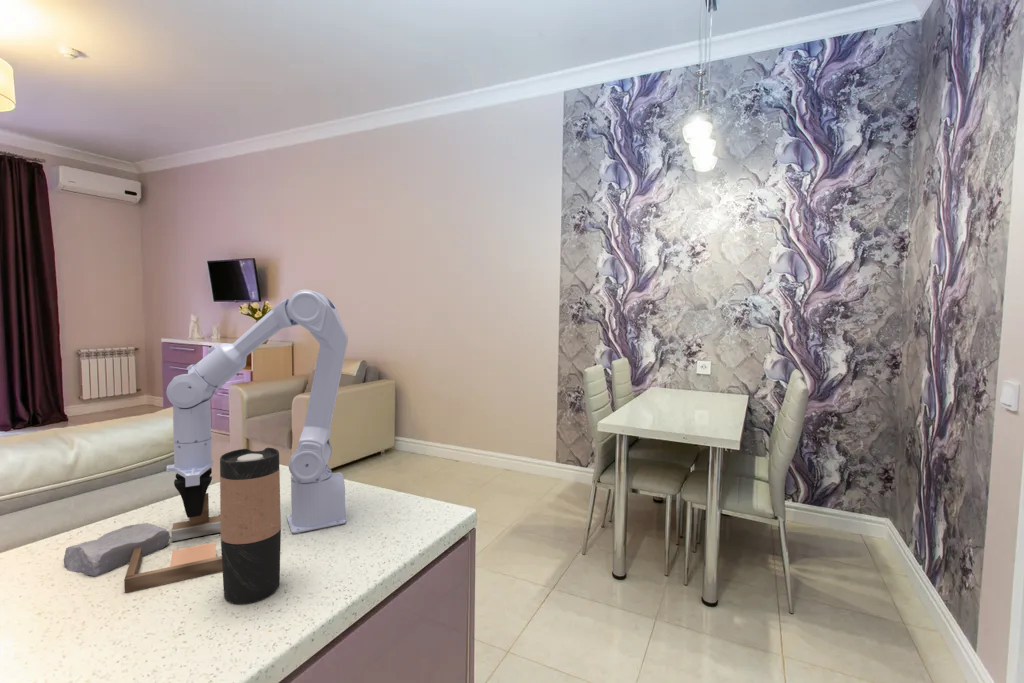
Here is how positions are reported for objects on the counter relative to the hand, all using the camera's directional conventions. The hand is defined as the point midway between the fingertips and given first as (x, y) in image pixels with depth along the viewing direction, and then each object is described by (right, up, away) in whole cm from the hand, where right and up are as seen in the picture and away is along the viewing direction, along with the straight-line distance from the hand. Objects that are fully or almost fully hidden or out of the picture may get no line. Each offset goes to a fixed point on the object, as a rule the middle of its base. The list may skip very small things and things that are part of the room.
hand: (194, 513), depth 90 cm
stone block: (-7, -4, -9) cm, 12 cm away
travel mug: (+20, -5, -18) cm, 28 cm away
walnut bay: (+7, -4, -11) cm, 13 cm away
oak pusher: (+1, -3, 0) cm, 3 cm away
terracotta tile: (+7, -5, -11) cm, 14 cm away
